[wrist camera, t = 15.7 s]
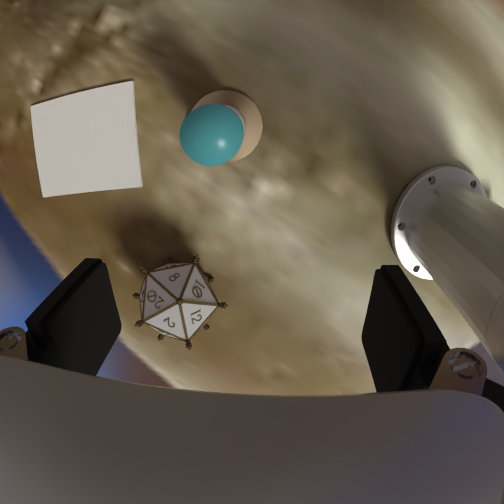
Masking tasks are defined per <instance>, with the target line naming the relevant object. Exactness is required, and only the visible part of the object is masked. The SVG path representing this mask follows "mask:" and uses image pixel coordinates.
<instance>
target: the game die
mask: <svg viewBox="0 0 504 504" xmlns="http://www.w3.org/2000/svg"><path fill="white" fill-rule="evenodd" d="M198 260H199V254H198V255H196V256H194V259H193V262H186V263H170V258H168V257H166V259H165V262H166V263H167V264H165V265H163V266H160V267H158V268H155V269H153V270H150V271H148V270H147V268H146V267H145V266H140V267H141V271H142V272H143V273H145V274H146V275H145V278H144V282H143V285H142V288H141V291H140V294H138V293H135V294H133V297H134V298H139V300H140V310H141V319H142V320H140V321H139V320H138V322H137V321H136V324H135V327H140V326H142V324H143V323H144V324H146V325H147V326H149V327H150V328H152V329H154V330H155V331H157V332H158V333H160V334H159V336H158V339H159V341H160V340H163V338H164V336H163V335H165V336H168V337H171V338H175V339H178V340H182V341H185V342H186V344H185V345H186V348H188V349H189V350H191V347H192V345H191V343H190V340H191V339H192V338H193V337H194V336H195V335H196V333H197V332H198V331H199V330H200V329H201V328H202V327H204V328H205V330H206V329H209V325H208V324H206V323H207V321H208V320H209V319H210V317H211V316H212V315H213V314H214V312H215V311H216V310H217V308H218V307H221V308H224V309H225V308H226V307H227V306H228V305H227V304H226V303H225V302H224V303H223V302H222V303H219V302H218V300H217V298H216V296H215V294H214V292H213V290H212V288H211V286H210V284H209V283H211V282H213V279H214V278H211V277H210V278H208V280H207V279H206V277H205V276H204V274H203V273H202V272H201V270H200V269H199V267H198V266H197V264H196V263H197V262H198Z"/></svg>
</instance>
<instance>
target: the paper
mask: <svg viewBox="0 0 504 504" xmlns="http://www.w3.org/2000/svg"><path fill="white" fill-rule="evenodd" d="M31 117H32V127H33V137H34V145H35V153H36V160H37V166H38V172H39V178H40V184H41V189H42V194H43V197H50V196H58V195H66V194H74V193H83V192H92V191H102V190H112V189H123V188H135V187H142V186H143V183H142V175H141V166H140V157H139V147H138V136H137V123H136V110H135V93H134V81H129V82H123V83H118V84H113V85H108V86H104V87H99V88H95V89H90V90H86V91H82V92H78V93H74V94H70V95H67V96H63V97H60V98H56V99H53V100H49V101H46V102H43V103H40V104H36V105H33V106H31Z"/></svg>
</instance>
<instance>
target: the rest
mask: <svg viewBox="0 0 504 504" xmlns="http://www.w3.org/2000/svg"><path fill="white" fill-rule="evenodd" d="M206 104H220V105H230V106H234V107H236V108H237V109H239V110H240V111H241V112H242V113H243V115H244V117H245V119H246V131H245V134H244V138H243V142H242V145H241V147H240V149H239V151H238V152H237V154H236V155H235V156H234V157H233V158H232V159H230V160H229V161H227V162H234V161H237V160H240V159H242V158H244V157H246V156H247V155H248V154H250V153H251V152H252V151H253V150H254V148H255V147H256V146H257V144H258V142H259V140H260V138H261V135H262V127H263V124H262V118H261V114H260V112H259V110H258V108H257V106H256V105H255V104H254V102H253V101H252V100H251V99H249V98H248V97H247V96H245V95H243V94H241V93H239V92H236V91H231V90H220V91H215V92H212V93H210V94H208V95H206V96H204V97H203V98H201V99H200V100H199V101H198V102H197V103H196V104H195V106H194V107H193V109H192V110H194V109H195V108H197V107H199V106H202V105H206ZM192 110H191V111H192ZM227 162H225V163H227Z"/></svg>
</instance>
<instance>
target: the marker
mask: <svg viewBox="0 0 504 504" xmlns="http://www.w3.org/2000/svg"><path fill="white" fill-rule="evenodd" d="M245 131H246V119H245V117H244V115H243V113H242V112H241V111H240V110H239V109H237V108H236V107H234V106H230V105H220V104H206V105H202V106H199V107H197V108H195V109H194V110H192V111H191V112H190V113H189V114H188V115H187V116H186V118H185V119H184V121H183V123H182V126H181V129H180V141H181V145H182V147H183V149H184V151H185V153H186V154H187V155H188V156H189V157H190V158H191V159H192V160H194V161H195V162H197V163H200V164H203V165H208V166H215V165H220V164H223V163H225V162H227V161H229V160H230V159H232V158H233V157H234V156H235V155H236V154H237V152H238V151H239V149H240V147H241V145H242V142H243V138H244V134H245Z"/></svg>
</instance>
